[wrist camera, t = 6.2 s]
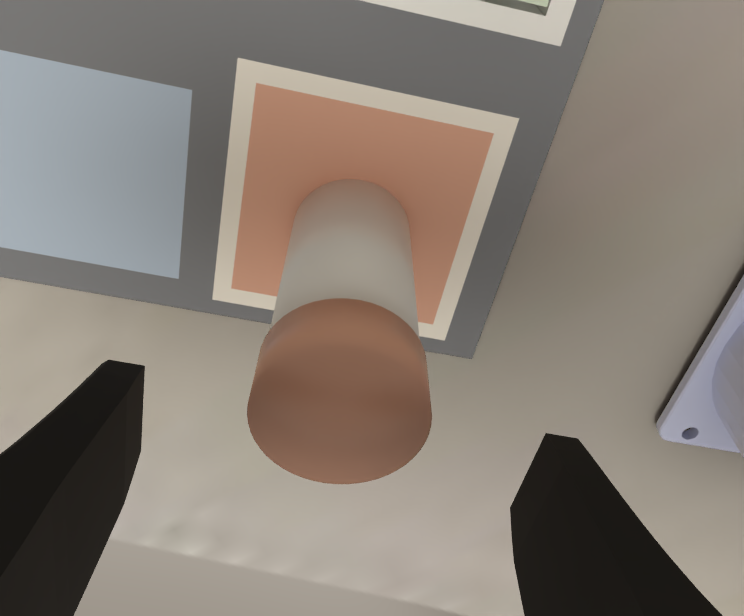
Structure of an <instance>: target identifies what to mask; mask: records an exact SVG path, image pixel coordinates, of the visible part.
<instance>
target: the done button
mask: <svg viewBox="0 0 744 616" xmlns="http://www.w3.org/2000/svg"><path fill="white" fill-rule="evenodd" d="M518 1H523V2H527V3H531V4H535V5H540V6H544V7H547V5H548V2H549V0H518Z"/></svg>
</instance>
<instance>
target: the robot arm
mask: <svg viewBox="0 0 744 616" xmlns="http://www.w3.org/2000/svg"><path fill="white" fill-rule="evenodd" d="M144 370H145V366H143V365H137V364H131V363H125V362H119V361H113V360H107V361H106V362H104V363H102V364H101V365H100V366H99V367H98V368H97V369H96V370H95V371H94V372H93V373H92V374H91V375H90V376H89V377H88V378H87V379H86V380H85V381H84V382H83V383H82V384H81V385H80V386H79V387H78V388H76V389H75V390H74V391H73V392H72V393H71V394H70V395H69V396H68V397H67V398H66V399H65V400H64V401H62V402H61V403H60V404H59V405H58V406H57V407H56V408H55V409H54V410H53V411H51V412H50V413H49V414H48V415H47V416H46V417H44V418H43V419H42V420H41V421H40V422H39V423H37V424H36V425H35V426H34V427H33V428H32V429H30V430H29V431H28V432H27V433H26V434H25V435H23V436H22V437H21V438H20V439H19V440H17V441H16V442H15V443H14V444H13V445H11V446H10V447H9V448H7V449H6V450H5V451H4V452H2V453H1V454H0V616H74V613H75V611H76V609H77V607H78V605H79V602H80V600H81V598H82V596H83V594H84V591H85V589H86V587H87V585H88V582H89V580H90V578H91V576H92V574H93V572H94V569H95V567H96V565H97V563H98V561H99V558H100V556H101V554H102V552H103V550H104V547H105V545H106V543H107V541H108V539H109V536H110V534H111V532H112V530H113V527H114V525H115V523H116V521H117V519H118V516H119V514H120V512H121V510H122V507H123V505H124V502H125V499H126V496H127V493H128V490H129V487H130V484H131V481H132V478H133V475H134V471H135V468H136V465H137V462H138V458H139V455H140V452H141V437H142V415H143V393H144ZM656 428H657V431H658V433H659V435H660V437H661V438H662V439H664V440H666V441H670V442H677V443H683V444H689V445H695V446H701V447H707V448H713V449H719V450H725V451H731V452H737V453H741V455H742V456H743V458H744V275H743V277H742V278H741V280H740V282H739V284H738V285H737V287H736V289H735V290H734V292H733V294H732V295H731V297H730V299H729V301H728V302H727V304H726V306H725V307H724V309H723V311H722V312H721V314H720V316H719V318H718V319H717V321H716V323H715V324H714V326H713V328H712V329H711V331H710V333H709V334H708V336H707V338H706V340H705V341H704V343H703V345H702V346H701V348H700V350H699V351H698V353H697V355H696V357H695V358H694V360H693V362H692V363H691V365H690V367H689V368H688V370H687V372H686V373H685V375H684V377H683V379H682V380H681V382H680V384H679V385H678V387H677V389H676V390H675V392H674V394H673V396H672V397H671V399H670V401H669V402H668V404H667V406H666V407H665V409H664V411H663V412H662V414H661V416H660V418H659V419H658V421H657V424H656ZM687 428H691V429H689V430H687V431H684V430H685V429H687ZM510 513H511V530H512V544H513V556H514V564H515V569H516V575H517V580H518V585H519V590H520V595H521V600H522V605H523V610H524V614H525V616H722V615H721V614H720V613H719V612H718V610H717V609H716V608H715V607H714V606H713V605H712V604H711V603H710V602H709V601H708V600H707V599H706V598H705V597H704V596H703V595H702V594H701V592H700V591H699V590H698V589H697V588H696V587H695V586H694V585H693V583H692V582H691V581H690V580H689V579H688V578H687V577H686V575H685V574H684V573H683V572H682V571H681V570H680V568H679V567H678V566H677V565H676V564H675V563H674V562H673V560H672V559H671V558H670V557H669V556H668V554H667V553H666V552H665V551H664V550H663V548H662V547H661V546H660V545H659V544H658V542H657V541H656V540H655V539H654V537H653V536H652V535H651V534H650V532H649V531H648V530H647V529H646V527H645V526H644V525H643V524H642V522H641V521H640V520H639V518H638V517H637V516H636V515H635V513H634V512H633V511H632V509H631V508H630V507H629V505H628V504H627V503H626V502H625V500H624V499H623V498H622V496H621V495H620V494H619V492H618V491H617V490H616V488H615V487H614V486H613V484H612V483H611V482H610V480H609V479H608V478H607V476H606V475H605V474H604V472H603V471H602V470H601V468H600V467H599V465H598V464H597V463H596V461H595V460H594V459H593V458H592V456H591V455H590V454H589V452H588V451H587V450H586V448H585V447H584V446H583V445H582V443H581V442H580V441H579V440H578V439H577V438H571V437H565V436H559V435H553V434H547V433H546V434H545V436H544V438H543V440H542V442H541V444H540V447H539V449H538V451H537V453H536V455H535V457H534V459H533V461H532V463H531V465H530V468H529V470H528V472H527V474H526V476H525V478H524V480H523V482H522V484H521V486H520V488H519V491H518V493H517V495H516V497H515V499H514V501H513V503H512V505H511V507H510Z"/></svg>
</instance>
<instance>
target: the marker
mask: <svg viewBox="0 0 744 616" xmlns="http://www.w3.org/2000/svg"><path fill="white" fill-rule="evenodd" d="M247 417H248V424H249V428H250V431H251V433H252V436H253V438H254V440H255V441H256V443H257V444H258V446H259V447H260V449H261V450H262V451H263V452H264V453H265V454H266V456H268V457H269V458H270V459H271V460H272V461H273V462H274V463H276V464H277V465H279V466H280V467H282V468H283V469H285V470H287V471H289V472H291V473H293V474H295V475H298V476H300V477H302V478H306V479H309V480H313V481H317V482H322V483H331V484H354V483H361V482H367V481H371V480H375V479H378V478H381V477H384V476H386V475H389V474H391V473H393V472H394V471H396V470H398V469H400V468H401V467H403V466H404V465H406V464H407V463H408V462H409V461H410V460H411V459H413V458H414V457H415V456H416V454H417V453H418V452H419V451H420V450H421V448H422V447H423V445H424V443H425V442H426V439H427V437H428V435H429V432H430V428H431V421H432V412H431V402H430V392H429V382H428V372H427V362H426V355H425V351H424V348H423V346H422V344H421V341H420V339H419V328H418V317H417V306H416V295H415V284H414V272H413V261H412V250H411V239H410V228H409V222H408V218H407V215H406V213H405V210H404V209H403V207H402V205H401V204H400V203H399V201H398V200H397V199H396V198H395V197H394V196H393V195H392V194H391V193H390V192H388V191H387V190H386V189H384V188H382V187H380V186H379V185H376V184H374V183H371V182H368V181H364V180H358V179H342V180H336V181H332V182H329V183H327V184H324V185H322V186H320V187H318V188H317V189H315V190H314V191H313V192H311V193H310V194H309V195H308V196H307V197H306V198H305V199H304V200H303V202H302V203H301V205H300V206H299V208H298V210H297V212H296V215H295V218H294V222H293V227H292V231H291V236H290V240H289V245H288V249H287V254H286V258H285V263H284V268H283V272H282V277H281V281H280V286H279V290H278V295H277V299H276V304H275V309H274V313H273V318H272V322H271V327H270V331H269V332H268V334H267V335H266V337H265V339H264V341H263V343H262V346H261V349H260V354H259V358H258V362H257V367H256V371H255V375H254V380H253V384H252V388H251V393H250V397H249V401H248V408H247Z"/></svg>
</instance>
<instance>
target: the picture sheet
mask: <svg viewBox="0 0 744 616" xmlns="http://www.w3.org/2000/svg"><path fill="white" fill-rule="evenodd" d="M603 2H604V0H576V3H575V6H574V9H573V12H572V15H571V18H570V20H569V23H568V26H567V29H566V32H565V35H564V38H563V41H562V43H561V46H556V45H552V44H548V43H543V42H539V41H535V40H530V39H526V38H522V37H517V36H513V35H508V34H504V33H500V32H495V31H491V30H487V29H482V28H478V27H474V26H469V25H465V24H461V23H456V22H452V21H448V20H443V19H439V18H434V17H430V16H426V15H421V14H417V13H413V12H408V11H404V10H400V9H395V8H391V7H387V6H382V5H378V4H373V3H369V2H365V1H360V0H0V277H4V278H10V279H16V280H22V281H27V282H33V283H39V284H45V285H50V286H56V287H62V288H68V289H73V290H79V291H85V292H91V293H96V294H102V295H108V296H113V297H119V298H125V299H131V300H136V301H142V302H148V303H154V304H159V305H165V306H171V307H177V308H182V309H188V310H194V311H199V312H205V313H211V314H217V315H222V316H228V317H234V318H240V319H245V320H251V321H257V322H263V323H268V324H271V322H272V318H273V313H274V309H275V304H276V299H277V295H278V290H279V286H280V281H281V277H282V272H283V268H284V263H285V258H286V254H287V249H288V245H289V240H290V236H291V231H292V227H293V222H294V218H295V215H296V212H297V210H298V208H299V206H300V205H301V203H302V202H303V200H304V199H305V198H306V197H307V196H308V195H309V194H310V193H311V192H313V191H314V190H315V189H317V188H318V187H320V186H322V185H324V184H327V183H329V182H332V181H336V180H342V179H358V180H364V181H368V182H371V183H374V184H376V185H379V186H380V187H382V188H384V189H386V190H387V191H388V192H390V193H391V194H392V195H393V196H394V197H395V198H396V199H397V200H398V201H399V203H400V204H401V205H402V207H403V209H404V210H405V213H406V215H407V218H408V222H409V228H410V239H411V250H412V261H413V272H414V284H415V295H416V306H417V317H418V328H419V339H420V341H421V344H422V346H423V348H424V351H429V352H435V353H440V354H446V355H452V356H457V357H463V358H469V359H472V357H473V354H474V352H475V349H476V346H477V344H478V341H479V338H480V335H481V333H482V330H483V327H484V325H485V322H486V319H487V316H488V314H489V311H490V308H491V306H492V303H493V300H494V298H495V295H496V292H497V289H498V287H499V284H500V281H501V279H502V276H503V273H504V270H505V268H506V265H507V262H508V260H509V257H510V254H511V251H512V249H513V246H514V243H515V241H516V238H517V235H518V232H519V230H520V227H521V224H522V222H523V219H524V216H525V213H526V211H527V208H528V205H529V203H530V200H531V197H532V195H533V192H534V189H535V186H536V184H537V181H538V178H539V176H540V173H541V170H542V167H543V165H544V162H545V159H546V157H547V154H548V151H549V148H550V146H551V143H552V140H553V138H554V135H555V132H556V129H557V127H558V124H559V121H560V119H561V116H562V113H563V110H564V108H565V105H566V102H567V100H568V97H569V94H570V92H571V89H572V86H573V83H574V81H575V78H576V75H577V73H578V70H579V67H580V64H581V62H582V59H583V56H584V54H585V51H586V48H587V45H588V43H589V40H590V37H591V35H592V32H593V29H594V26H595V24H596V21H597V18H598V16H599V13H600V10H601V7H602V5H603Z"/></svg>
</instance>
